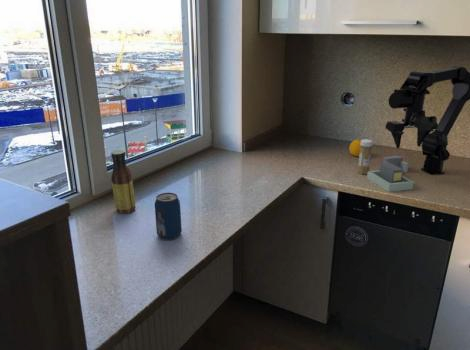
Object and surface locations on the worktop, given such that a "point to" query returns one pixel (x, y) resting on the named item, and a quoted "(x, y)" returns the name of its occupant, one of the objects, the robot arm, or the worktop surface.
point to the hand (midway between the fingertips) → (408, 147)
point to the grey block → (390, 173)
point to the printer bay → (396, 162)
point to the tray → (389, 187)
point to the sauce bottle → (122, 183)
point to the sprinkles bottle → (365, 156)
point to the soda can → (168, 216)
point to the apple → (355, 147)
